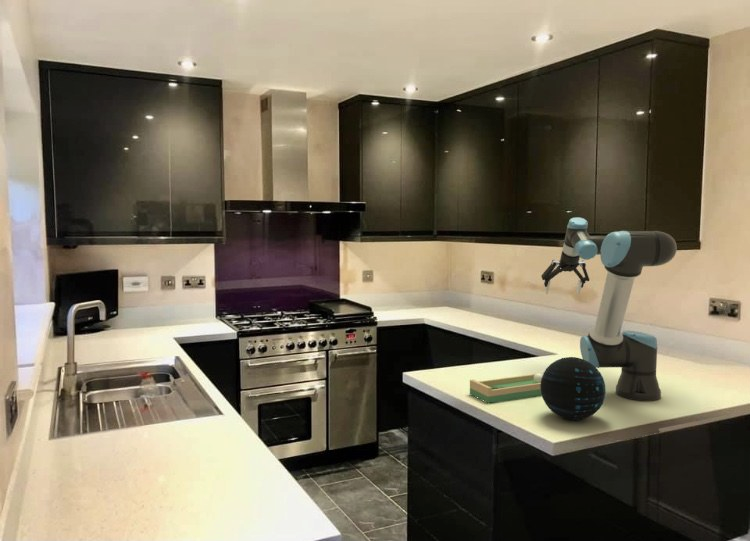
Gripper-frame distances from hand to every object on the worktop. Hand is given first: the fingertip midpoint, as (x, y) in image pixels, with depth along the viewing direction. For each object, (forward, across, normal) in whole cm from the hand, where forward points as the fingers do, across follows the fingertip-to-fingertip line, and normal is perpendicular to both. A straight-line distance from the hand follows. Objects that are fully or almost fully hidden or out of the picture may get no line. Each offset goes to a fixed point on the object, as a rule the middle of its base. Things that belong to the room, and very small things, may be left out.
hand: (561, 292), depth 252 cm
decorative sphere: (-6, +15, +78) cm, 79 cm away
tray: (+8, +28, +54) cm, 62 cm away
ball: (+6, +18, +48) cm, 51 cm away
